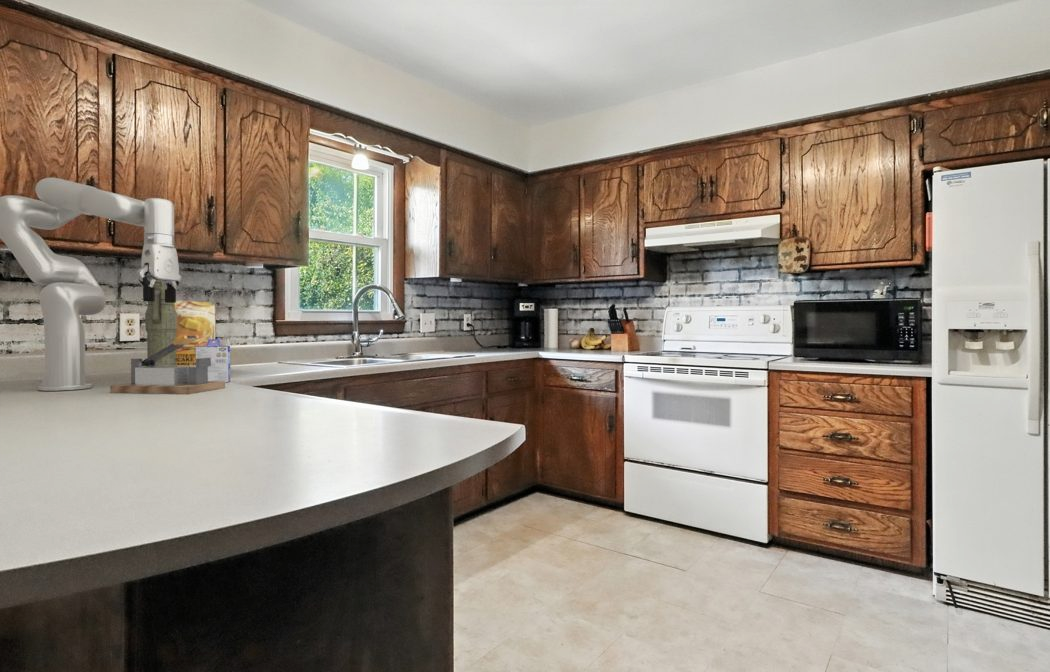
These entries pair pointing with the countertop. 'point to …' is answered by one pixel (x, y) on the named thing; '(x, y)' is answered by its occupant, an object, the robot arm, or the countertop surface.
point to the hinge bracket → (137, 363)
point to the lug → (199, 371)
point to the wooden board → (167, 388)
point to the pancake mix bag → (194, 327)
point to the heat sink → (162, 375)
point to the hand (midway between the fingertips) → (159, 301)
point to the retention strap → (169, 349)
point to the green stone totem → (161, 325)
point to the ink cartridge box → (216, 360)
